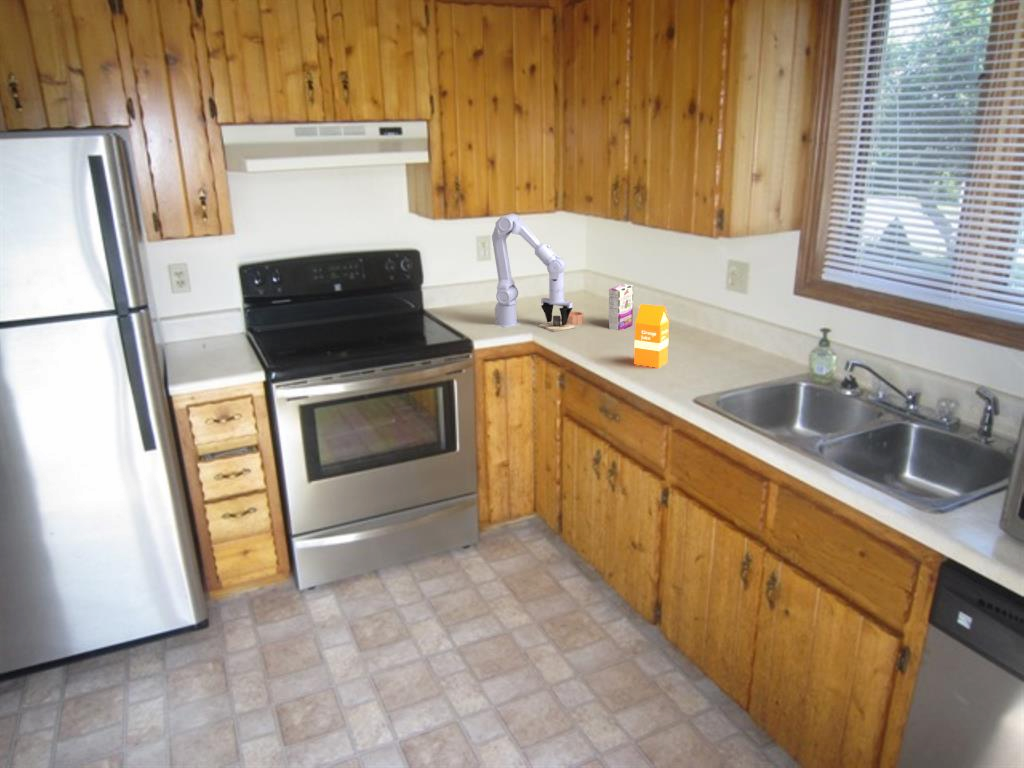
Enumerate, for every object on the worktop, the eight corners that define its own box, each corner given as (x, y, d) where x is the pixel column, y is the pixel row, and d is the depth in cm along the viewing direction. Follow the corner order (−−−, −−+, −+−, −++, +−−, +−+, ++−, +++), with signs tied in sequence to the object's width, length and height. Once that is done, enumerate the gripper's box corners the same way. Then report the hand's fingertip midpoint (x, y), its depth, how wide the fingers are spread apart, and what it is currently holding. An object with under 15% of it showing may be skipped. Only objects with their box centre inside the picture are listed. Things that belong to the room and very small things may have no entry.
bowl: (560, 322, 304) (560, 313, 302) (575, 319, 308) (576, 310, 306) (571, 326, 297) (571, 316, 296) (587, 323, 301) (587, 314, 300)
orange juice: (643, 358, 253) (645, 301, 247) (667, 362, 249) (670, 304, 242) (633, 364, 247) (635, 306, 241) (658, 368, 243) (660, 309, 236)
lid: (539, 326, 296) (539, 315, 295) (559, 322, 301) (559, 312, 300) (553, 331, 288) (553, 320, 287) (574, 327, 293) (574, 317, 292)
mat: (537, 327, 297) (537, 326, 296) (560, 323, 302) (560, 322, 302) (553, 333, 288) (553, 332, 288) (576, 328, 293) (576, 327, 293)
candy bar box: (621, 323, 299) (622, 283, 294) (632, 325, 296) (634, 284, 291) (607, 329, 291) (608, 288, 286) (618, 331, 288) (619, 289, 283)
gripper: (577, 290, 288) (577, 324, 292) (549, 285, 297) (549, 318, 302) (566, 293, 283) (566, 327, 287) (537, 288, 292) (537, 322, 297)
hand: (556, 323), depth 294 cm, fingers open, 7 cm apart
